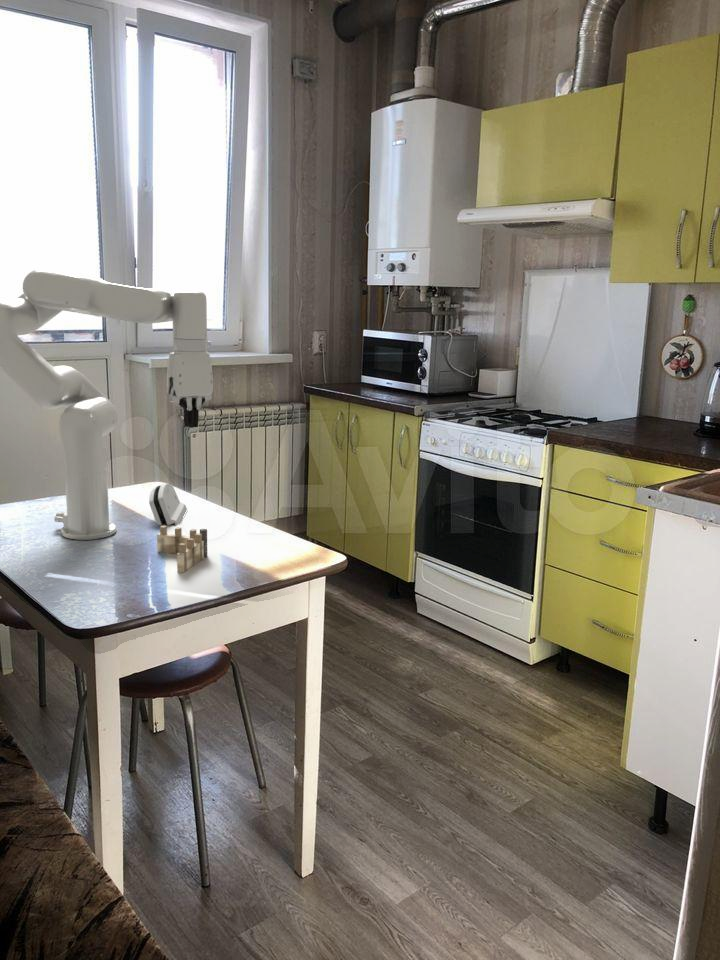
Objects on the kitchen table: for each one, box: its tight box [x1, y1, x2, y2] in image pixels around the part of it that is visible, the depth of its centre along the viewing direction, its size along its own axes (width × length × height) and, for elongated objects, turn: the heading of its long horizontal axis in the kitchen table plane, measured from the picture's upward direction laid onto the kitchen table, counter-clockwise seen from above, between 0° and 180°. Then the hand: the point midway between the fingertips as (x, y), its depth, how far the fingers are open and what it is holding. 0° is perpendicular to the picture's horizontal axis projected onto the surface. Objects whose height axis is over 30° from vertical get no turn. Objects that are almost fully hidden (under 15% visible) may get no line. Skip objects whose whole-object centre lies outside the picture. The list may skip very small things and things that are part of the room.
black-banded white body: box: [148, 482, 188, 526], centre depth 205 cm, size 17×5×10 cm, turn 4°
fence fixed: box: [156, 525, 208, 559], centre depth 177 cm, size 12×2×6 cm, turn 75°
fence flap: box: [176, 533, 205, 574], centre depth 170 cm, size 10×1×6 cm, turn 165°
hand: (191, 426), depth 184 cm, fingers closed
